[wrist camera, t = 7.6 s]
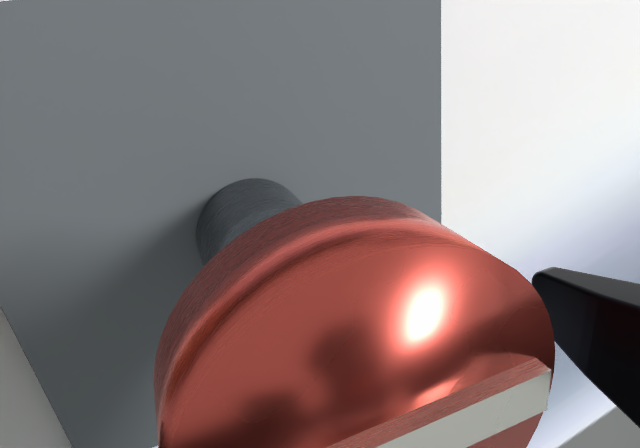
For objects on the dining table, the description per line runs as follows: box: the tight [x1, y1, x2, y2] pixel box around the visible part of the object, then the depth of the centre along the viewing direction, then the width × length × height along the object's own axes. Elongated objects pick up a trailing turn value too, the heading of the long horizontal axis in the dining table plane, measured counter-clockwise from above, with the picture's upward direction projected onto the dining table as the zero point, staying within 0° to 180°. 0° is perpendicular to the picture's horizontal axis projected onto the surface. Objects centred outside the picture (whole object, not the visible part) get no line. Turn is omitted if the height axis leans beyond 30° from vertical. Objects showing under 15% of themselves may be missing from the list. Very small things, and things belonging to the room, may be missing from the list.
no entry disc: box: [153, 178, 555, 448], centre depth 10 cm, size 6×6×8 cm
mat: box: [0, 0, 441, 448], centre depth 14 cm, size 13×13×1 cm
